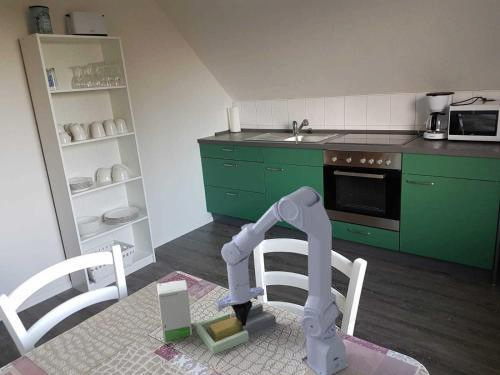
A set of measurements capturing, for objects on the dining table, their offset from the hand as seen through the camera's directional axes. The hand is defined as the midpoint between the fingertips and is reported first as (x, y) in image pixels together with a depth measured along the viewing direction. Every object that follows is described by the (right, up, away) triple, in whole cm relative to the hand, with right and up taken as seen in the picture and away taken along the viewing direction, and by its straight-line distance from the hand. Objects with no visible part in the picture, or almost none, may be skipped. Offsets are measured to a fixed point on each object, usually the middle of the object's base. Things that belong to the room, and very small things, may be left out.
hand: (242, 324), depth 114 cm
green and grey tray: (-1, -2, 0) cm, 3 cm away
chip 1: (-6, -2, -3) cm, 7 cm away
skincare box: (-18, -4, +1) cm, 19 cm away
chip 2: (-3, -2, -1) cm, 3 cm away
